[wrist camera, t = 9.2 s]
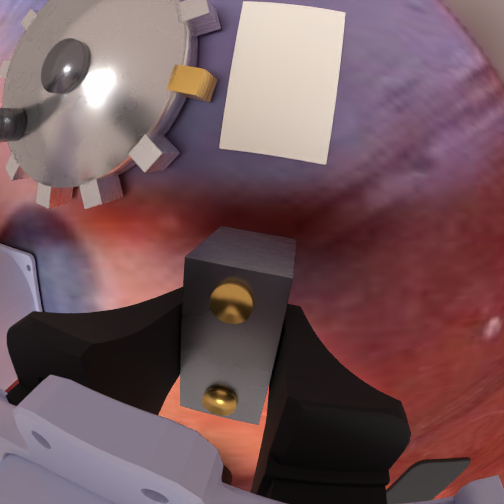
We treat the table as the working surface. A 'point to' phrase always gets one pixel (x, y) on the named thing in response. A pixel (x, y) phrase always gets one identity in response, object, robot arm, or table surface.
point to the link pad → (283, 81)
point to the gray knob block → (233, 320)
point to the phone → (425, 480)
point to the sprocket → (100, 92)
